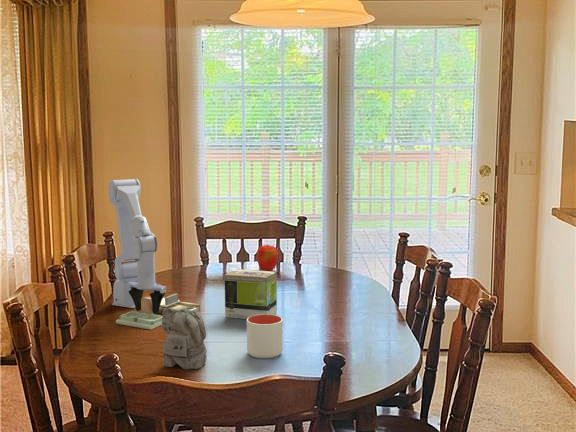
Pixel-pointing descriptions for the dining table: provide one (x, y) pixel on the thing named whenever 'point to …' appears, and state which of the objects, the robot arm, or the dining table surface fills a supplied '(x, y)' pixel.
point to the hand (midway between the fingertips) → (147, 311)
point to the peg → (146, 305)
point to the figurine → (184, 338)
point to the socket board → (140, 320)
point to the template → (181, 306)
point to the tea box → (250, 293)
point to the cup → (264, 336)
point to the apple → (267, 257)
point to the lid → (169, 300)
